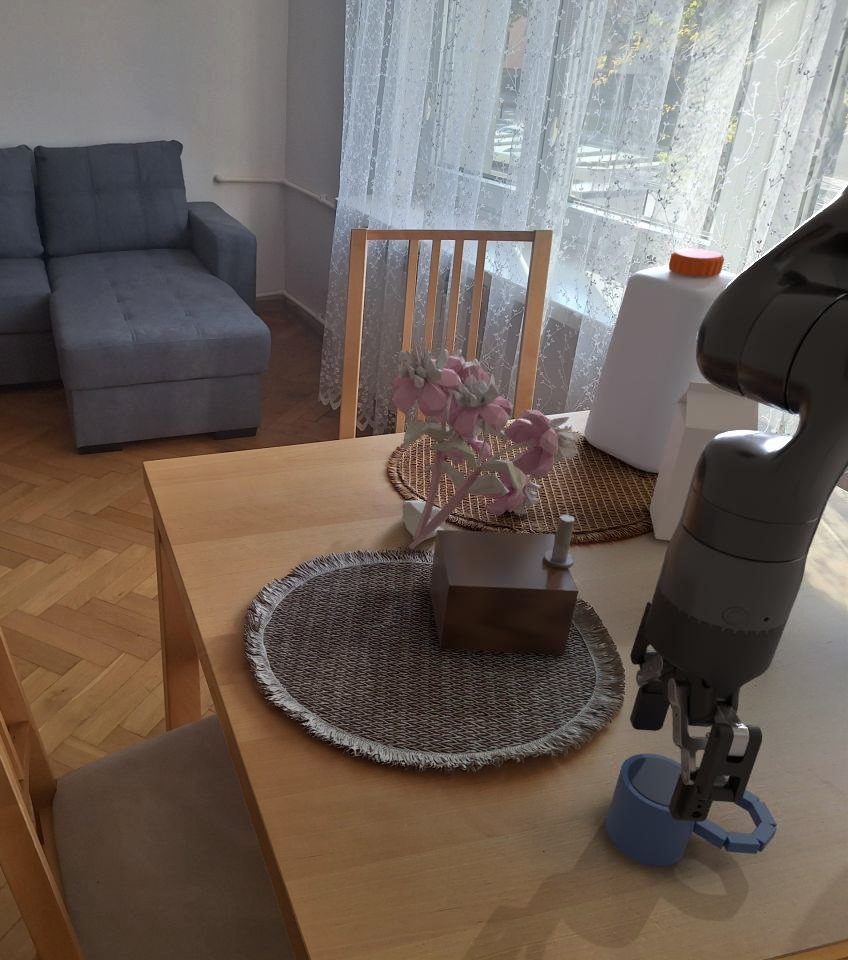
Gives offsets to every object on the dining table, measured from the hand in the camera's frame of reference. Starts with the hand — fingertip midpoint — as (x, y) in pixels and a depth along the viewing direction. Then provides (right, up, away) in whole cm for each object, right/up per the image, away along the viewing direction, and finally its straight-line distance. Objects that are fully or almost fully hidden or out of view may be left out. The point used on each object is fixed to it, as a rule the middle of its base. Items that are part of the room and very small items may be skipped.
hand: (663, 769), depth 63 cm
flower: (0, +16, +45) cm, 48 cm away
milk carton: (+24, +15, +41) cm, 50 cm away
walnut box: (-4, +6, +27) cm, 28 cm away
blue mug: (+3, -7, +3) cm, 8 cm away
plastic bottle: (+30, +26, +60) cm, 72 cm away
